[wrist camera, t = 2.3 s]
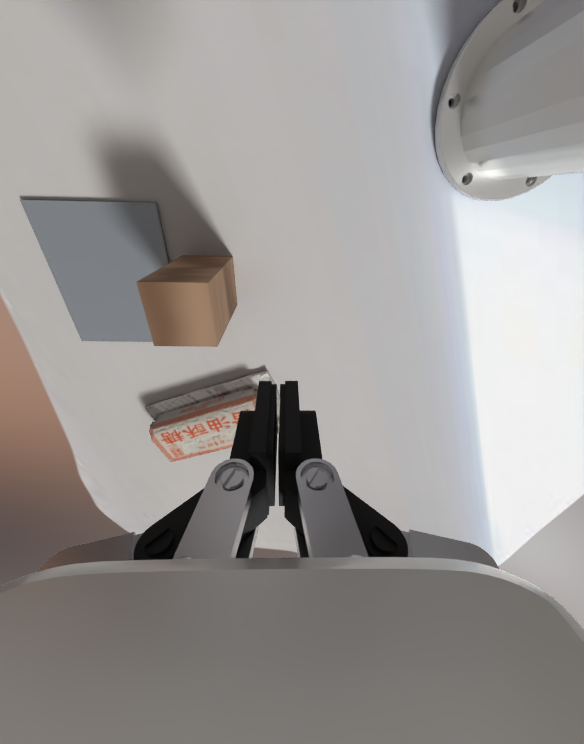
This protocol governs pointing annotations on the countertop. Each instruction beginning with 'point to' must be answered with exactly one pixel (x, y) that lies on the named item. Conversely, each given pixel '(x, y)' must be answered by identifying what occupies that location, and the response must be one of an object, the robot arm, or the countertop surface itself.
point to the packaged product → (204, 417)
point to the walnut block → (189, 300)
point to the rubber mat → (101, 261)
